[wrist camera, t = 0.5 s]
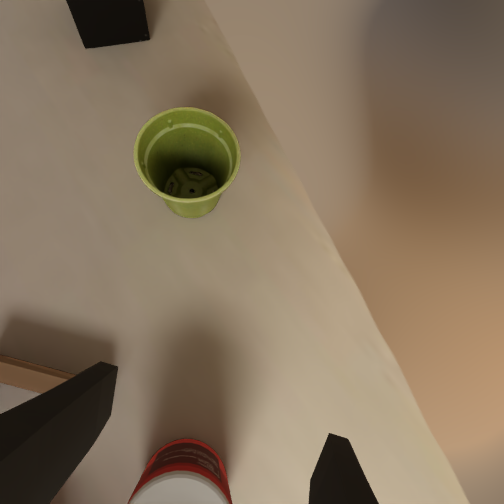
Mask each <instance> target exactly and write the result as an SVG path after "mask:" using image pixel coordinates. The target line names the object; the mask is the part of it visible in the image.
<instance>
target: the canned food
mask: <svg viewBox="0 0 504 504" xmlns="http://www.w3.org/2000/svg"><path fill="white" fill-rule="evenodd" d="M128 504H232V500H231V495H230V490H229V485H228V480H227V475H226V471H225V468H224V465H223V463H222V461H221V459H220V457H219V456H218V455H217V454H216V452H215V451H214V450H213V449H212V448H210V447H209V446H208V445H207V444H205V443H203V442H201V441H198V440H194V439H180V440H175V441H173V442H170V443H168V444H166V445H165V446H164V447H162V448H161V449H159V450H158V451H157V452H156V453H155V454H154V455H153V457H152V458H151V460H150V461H149V463H148V464H147V466H146V468H145V470H144V472H143V474H142V476H141V478H140V480H139V482H138V484H137V486H136V488H135V490H134V492H133V494H132V496H131V497H130V499H129V502H128Z"/></svg>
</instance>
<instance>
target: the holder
mask: <svg viewBox="0 0 504 504" xmlns="http://www.w3.org/2000/svg"><path fill="white" fill-rule="evenodd" d="M74 376H76V375H75V374H71V373H67V372H63V371H60V370H56V369H52V368H48V367H45V366H41V365H37V364H33V363H30V362H26V361H22V360H18V359H15V358H11V357H7V356H3V355H0V383H4V384H8V385H12V386H16V387H19V388H23V389H27V390H31V391H35V392H38V393H42V394H43V393H45V392H46V391H48V390H50V389H52V388H54V387H56V386H58V385H60V384H61V383H63V382H65V381H67V380H69V379H70V378H72V377H74Z"/></svg>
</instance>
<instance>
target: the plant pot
mask: <svg viewBox="0 0 504 504" xmlns="http://www.w3.org/2000/svg"><path fill="white" fill-rule="evenodd" d="M240 158H241V153H240V147H239V143H238V140H237V138H236V136H235V134H234V132H233V131H232V129H231V128H230V127H229V125H228V124H226V123H225V122H224V121H223V120H222V119H220V118H219V117H218V116H216V115H214V114H213V113H211V112H208V111H206V110H202V109H198V108H193V107H178V108H172V109H169V110H166V111H163V112H161V113H159V114H157V115H155V116H154V117H152V118H151V119H150V120H149V121H147V123H146V124H145V125H144V126H143V127H142V128H141V130H140V132H139V133H138V135H137V138H136V141H135V145H134V163H135V167H136V170H137V172H138V174H139V176H140V178H141V179H142V181H143V182H144V184H145V185H146V186H147V187H148V188H149V189H150V190H151V191H153V192H154V193H155V194H157V195H158V196H160V197H162V198H163V200H164V201H165V203H166V204H167V206H168V207H169V208H170V209H171V210H172V211H173V212H174V213H176V214H178V215H180V216H182V217H186V218H198V217H201V216H203V215H205V214H207V213H208V212H210V211H211V210H213V209H214V207H215V206H216V204H217V202H218V200H219V197H220V195H221V193H222V192H223V191H224V190H226V189H227V188H228V187H229V186H230V184H231V183H232V182H233V180H234V179H235V177H236V175H237V172H238V169H239V165H240ZM192 171H193V172H199V173H201V174H202V176H199V175H195V174H190V172H192ZM171 183H174V185H173V187H172V193H171V194H170V193H169V192H168V189H169V186H170V184H171ZM190 189H193V190H194V193H190ZM212 191H214V192H212Z"/></svg>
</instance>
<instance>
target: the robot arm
mask: <svg viewBox="0 0 504 504" xmlns="http://www.w3.org/2000/svg"><path fill="white" fill-rule="evenodd" d="M117 371H118V367H117V366H114V365H111V364H108V363H104V362H99V363H97V364H95V365H94V366H92V367H90V368H88V369H86V370H85V371H83V372H81V373H79V374H77V375H76V376H74V377H72V378H70V379H69V380H67V381H65V382H63V383H61V384H60V385H58V386H56V387H54V388H52V389H50V390H48V391H46V392H45V393H43V394H41V395H39V396H37V397H35V398H33V399H31V400H29V401H27V402H25V403H23V404H21V405H19V406H16V407H14V408H12V409H10V410H8V411H6V412H4V413H2V414H0V504H49V503H50V502H51V500H52V499H53V498H54V496H55V495H56V494H57V492H58V491H59V490H60V488H61V487H62V486H63V484H64V483H65V482H66V481H67V479H68V478H69V477H70V475H71V474H72V473H73V471H74V470H75V469H76V467H77V466H78V465H79V463H80V462H81V461H82V459H83V458H84V456H85V455H86V454H87V452H88V451H89V450H90V448H91V447H92V446H93V444H94V443H95V441H96V439H97V438H98V436H99V434H100V433H101V431H102V429H103V428H104V426H105V424H106V422H107V421H108V419H109V417H110V415H111V410H112V404H113V397H114V391H115V384H116V378H117ZM309 504H379V503H378V501H377V499H376V497H375V495H374V493H373V491H372V489H371V487H370V485H369V483H368V481H367V479H366V477H365V475H364V472H363V470H362V468H361V466H360V464H359V462H358V459H357V457H356V455H355V453H354V451H353V448H352V446H351V444H350V442H349V440H348V439H347V438H344V437H340V436H337V435H334V434H331V433H329V435H328V437H327V440H326V442H325V445H324V447H323V450H322V452H321V455H320V457H319V460H318V462H317V465H316V467H315V470H314V472H313V475H312V477H311V480H310V492H309Z"/></svg>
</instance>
